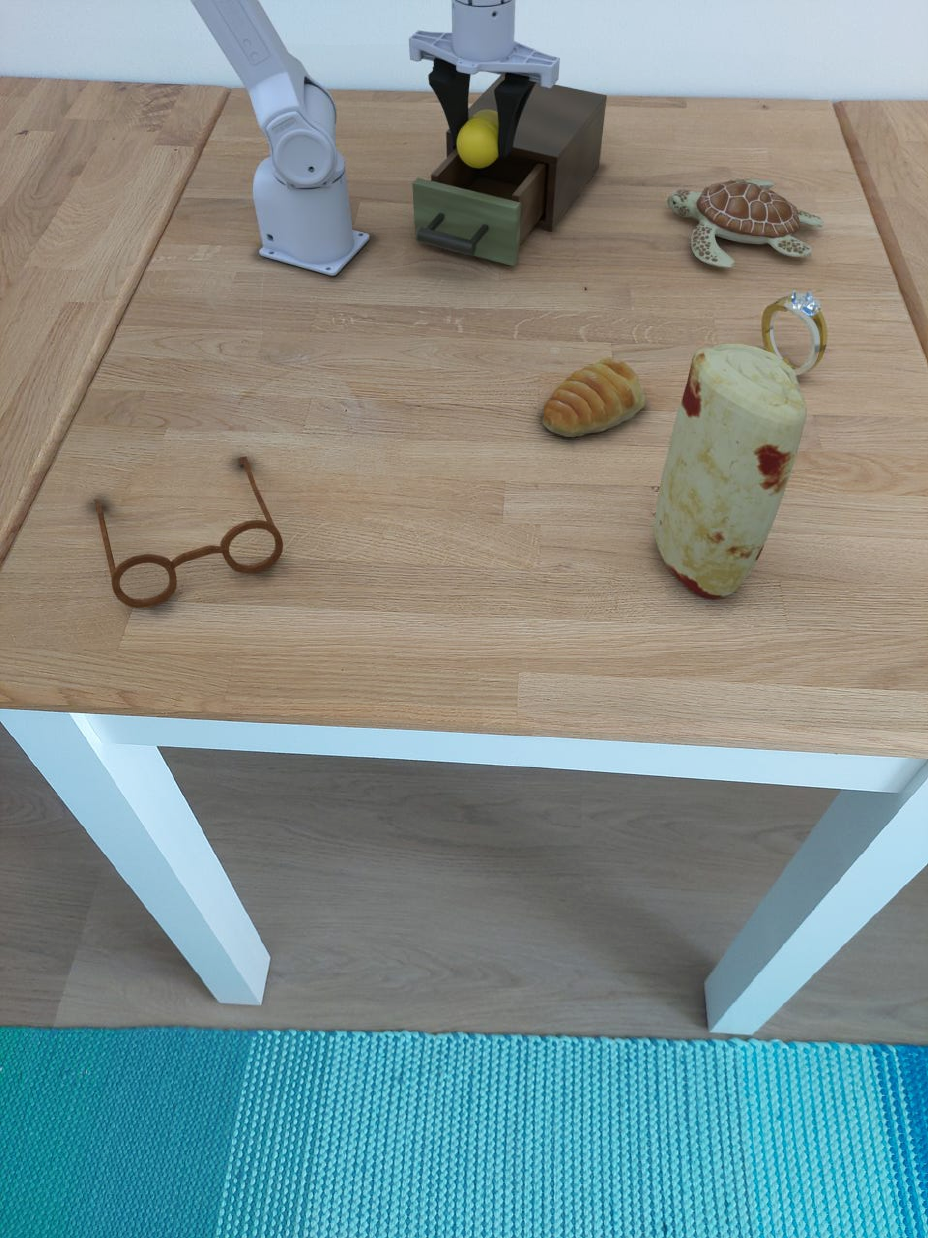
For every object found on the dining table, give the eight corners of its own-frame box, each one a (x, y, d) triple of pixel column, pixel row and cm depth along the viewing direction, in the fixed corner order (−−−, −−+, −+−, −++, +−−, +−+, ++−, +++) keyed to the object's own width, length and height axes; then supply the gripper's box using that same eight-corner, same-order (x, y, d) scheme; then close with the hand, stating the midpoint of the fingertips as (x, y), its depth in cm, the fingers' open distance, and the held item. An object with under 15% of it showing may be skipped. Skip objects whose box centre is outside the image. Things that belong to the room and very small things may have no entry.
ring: (817, 386, 87) (845, 313, 81) (789, 396, 86) (815, 323, 80) (772, 344, 91) (795, 270, 84) (745, 353, 90) (766, 280, 84)
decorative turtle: (688, 175, 109) (696, 132, 105) (831, 207, 105) (845, 163, 101) (639, 257, 99) (646, 213, 95) (794, 296, 95) (808, 251, 91)
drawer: (495, 290, 95) (496, 232, 89) (394, 263, 98) (390, 205, 92) (562, 201, 104) (567, 144, 99) (469, 179, 107) (468, 122, 102)
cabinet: (551, 231, 103) (557, 156, 96) (447, 205, 106) (445, 131, 99) (599, 167, 110) (607, 94, 104) (500, 145, 114) (502, 72, 107)
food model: (625, 548, 76) (665, 344, 59) (687, 514, 78) (743, 308, 62) (706, 630, 71) (775, 432, 55) (771, 591, 73) (855, 389, 57)
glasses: (126, 618, 72) (105, 577, 68) (95, 504, 79) (74, 461, 75) (289, 565, 75) (279, 523, 71) (245, 460, 82) (233, 416, 78)
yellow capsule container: (489, 180, 92) (490, 135, 89) (449, 171, 93) (448, 126, 90) (515, 150, 96) (516, 106, 92) (476, 141, 97) (476, 97, 93)
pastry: (573, 456, 82) (577, 423, 79) (523, 416, 85) (525, 383, 82) (649, 411, 85) (655, 377, 82) (598, 374, 88) (602, 340, 85)
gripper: (390, -3, 82) (400, 150, 93) (542, 25, 78) (534, 181, 89) (425, -32, 86) (431, 118, 97) (572, -7, 82) (561, 147, 93)
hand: (482, 146), depth 93 cm, fingers closed on yellow capsule container, 4 cm apart
